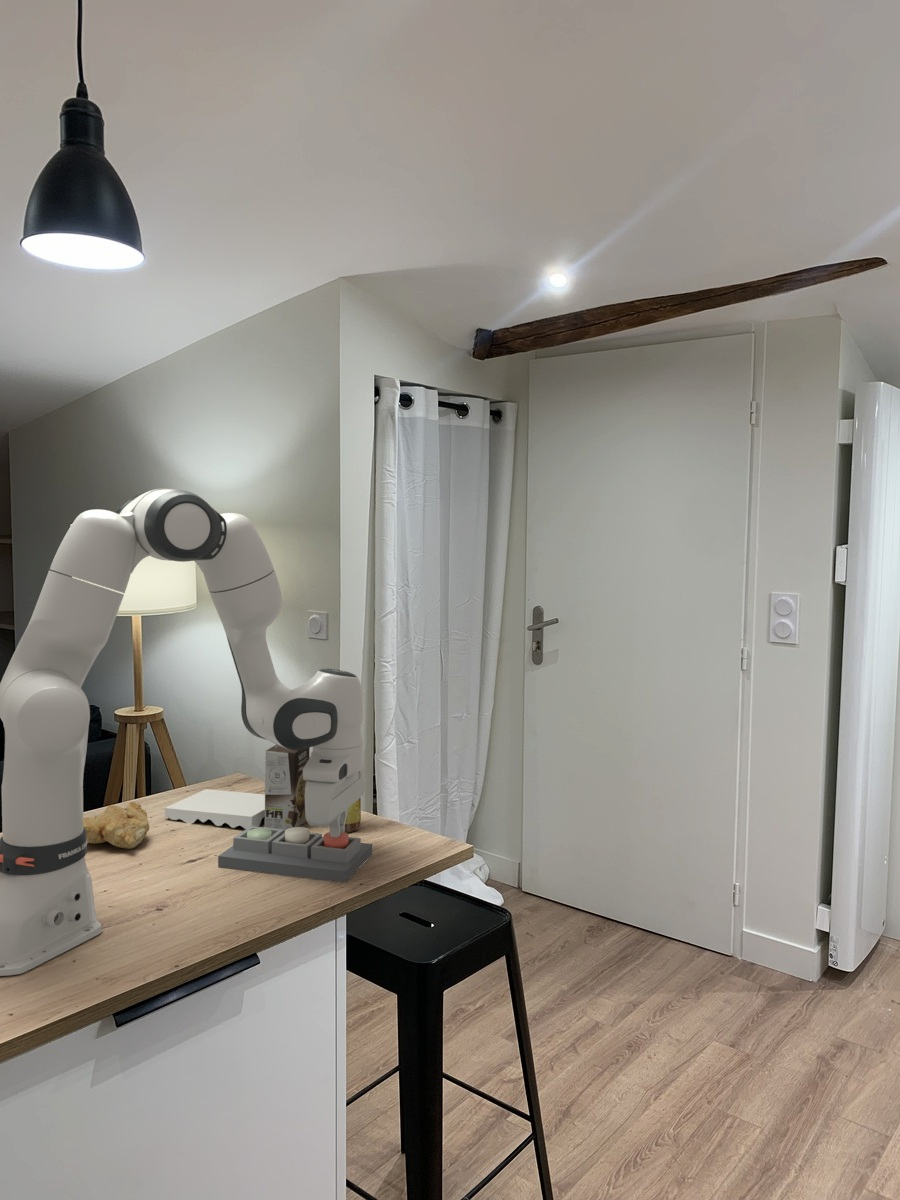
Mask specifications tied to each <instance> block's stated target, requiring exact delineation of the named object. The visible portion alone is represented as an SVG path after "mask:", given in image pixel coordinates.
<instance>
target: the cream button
mask: <svg viewBox="0 0 900 1200" xmlns="http://www.w3.org/2000/svg"><path fill="white" fill-rule="evenodd" d="M284 833H285V842H288V843H297V844H306V843H307V842H308V841H310V833H311V831H310V829H309V828H307V827H304V826H303V827H302V826H299V827H293V828H289V829H287V830H285V831H284Z"/></svg>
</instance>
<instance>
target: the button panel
mask: <svg viewBox="0 0 900 1200" xmlns="http://www.w3.org/2000/svg"><path fill="white" fill-rule="evenodd" d="M264 827H265V826H264ZM264 827H262V826H258V827H255V826H250V827H248V828H247V829H244V830H243V831H241V832H240V833H238V834H237V835H235V836H234V837H233V845H232V846H230V847H229V848H227V849H226V850H225V851H223V852H221V854H219V855H218V856H217V867H218V868H222V867H224V869H225V868H226V869H231V868H234V869H233V870H239V869H241V870H240V871H247V870H250V871H249V872H255V871H256V873H263V872H264V874H272V875H279V876H289V877H296V878H297V877H298V878H303V879H310V880H312V879H313V880H319V881H320V880H321V881H329V882H336V883H342V884H346V883H347V882H348V881H349V880H350V879H351V878H352V877H353V876H354V875H355V873H357V871H358V870H359V869H360V868H361V867H362V866H363V865H364V864H365V863H366V862H367V861H368V860H369V859H370V858H369V857H370V856H371V855H372V856H373V843H366V842H361V840H362V839H361V837H351V836H349V842H348V846H347V847H346V848H345V849H340V848H332V847H324V835H323V833H317V832H316V833H315V832H310V841H308V842H307V843H306V844H297V843H288V842H285V831H284V830H282V829H273V828H265V829H269V830H271V837H269V838H268V839H267V840H262V839H253V838H247V832H248V831H249V830H252V829H256V828H264ZM372 856H371V857H372ZM368 858H369V859H368ZM367 859H368V860H367ZM366 860H367V861H366ZM365 861H366V862H365ZM364 862H365V863H364ZM363 863H364V864H363ZM362 864H363V865H362ZM361 865H362V866H361ZM360 866H361V867H360ZM359 867H360V868H359ZM357 869H358V870H357ZM353 874H354V875H353ZM352 875H353V876H352ZM351 876H352V877H351ZM350 877H351V878H350ZM349 878H350V879H349ZM345 882H346V883H345Z"/></svg>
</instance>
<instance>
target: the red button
mask: <svg viewBox="0 0 900 1200" xmlns="http://www.w3.org/2000/svg"><path fill="white" fill-rule="evenodd" d="M323 836H324V847H332V848H340V849H345V848H346V847H347V846H348V842H349V837H350V836H349V834H348V832H347V833H345V832H344V833H342V834H341V835H340V836H339V837H338V838H333V837H330V831H329V832H326V833H325V834H323Z"/></svg>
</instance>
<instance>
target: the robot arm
mask: <svg viewBox="0 0 900 1200" xmlns="http://www.w3.org/2000/svg"><path fill="white" fill-rule="evenodd" d="M148 557H152V558H154V559H157V560H161V561H170V562H171V561H173V562H183V563H184V562H192V561H193V562H195V564H196V565H197V566H198V568H199V569H200V572H201V573H203V577H204V579H205V583H206V587H207V589H208V591H209V595H210V597H211V600H212V603H213V606H214V607H215V609H216V612H217V615H218V617H219V620H220V622H221V624H222V626H223V630H224V632H225V635H226V638H227V643H228V646H229V649H230V653H231V657H232V659H233V664H234V666H235V669H236V673H237V677H238V679H239V683H240V688H241V706H240V708H241V709H240V710H241V711H240V715H241V719H242V722H243V725H244V727H245V729H246V730H247V731H248V732H249V733H250V734H251V735H252V736H254V737H257V738H260V739H263V740H266V741H269V742H270V743H273V744H275V745H276V744H277V745H279V746H281V747H283V748H286V749H289V750H302V749H306V748H312V751H311V752H310V755H309V760H308V762H307V764H306V765H305V767H304V768H303V779H304V780H308V781H307V783H306V786H305V814H306V822H307V824H308V825H309V826H312V827H320V828H327V827H329V832H330V837H333V838H338V837H339V836H340V835H341V834H342V833H344V831H345V822H346V818H347V814H348V808H349V807H350V806H351V805H352V804H354V803H355V802H356V801H357V800H358V799H359V798H361V799H362V797H363V796H364V794H365V792H366V791H365V789H366V777H365V776H366V773H365V764H364V760H363V759H364V757H363V751H364V750H363V747H364V746H363V744H364V743H363V737H362V730H361V729H362V725H363V719H364V701H363V699H364V698H363V691H362V690H363V689H362V685H361V681H360V678H359V677H358V676H357V675H356V674H354V673H351V672H350V671H346V670H340V669H335V668H321V669H318V670H317V671H316V673H315V674H314V675H313V676H312V677H310V679H309V680H307V681H306V682H305V683H303V684H301V685H299V686H297V687H296V688H293V689H290V688H289V687H287V686H286V685H285V684H284V683H283V682H281V680H280V679H279V678H278V676H277V673H276V670H275V668H274V664H273V660H272V657H271V653H270V650H269V649H270V648H269V645H268V643H267V636H266V635H267V634H266V633H267V629H268V627H269V626H270V625H272V624H273V623H274V622H275V620H276V619H277V618H278V616H279V615H280V612H281V610H282V606H283V599H282V592H281V591H282V590H281V586H280V583H279V580H278V577H277V574H276V570H275V567H274V565H273V563H272V559H271V557H270V554H269V553H268V550H267V548H266V546H265V544H264V542H263V539H262V538H261V536H260V535H259V532H258V531H257V529H256V527H255V525H254V524H253V522H252V521H251V519H249V518H248V517H247V516H245V515H244V514H240V513H237V512H224V513H219V512H218V511H217V510H215V509H214V508H213V507H212V506H211V504H209V502H207V501H206V500H205V499H204V498H203V497H200V496H199V495H197V494H195V493H193V492H191V491H188V490H181V489H180V490H179V489H175V488H172V487H171V488H170V487H165V488H164V487H163V488H155V489H148V490H144V491H141V492H139V493H138V494H136V495H134V496H132V497H131V498H130V499H129V500H127V502H125V503H124V504H123V505H122V506H120V507H119V508H118V509H117V510H115V511H112V510H107V509H100V508H99V509H96V508H95V509H88V510H85V511H83V512H81V513H79V515H77V516H76V518H75V519H74V521H73V522H72V524H71V525H70V526H69V529H68V530H67V532H66V533H65V535H64V537H63V539H62V541H61V542H60V545H59V546H58V548H57V551H56V553H55V555H54V558H53V560H52V562H51V564H50V567H49V569H48V572H47V575H46V577H45V581H44V583H43V586H42V589H41V591H40V594H39V596H38V599H37V601H36V603H35V606H34V610H33V612H32V615H31V617H30V620H29V622H28V625H27V627H26V628H25V631H24V632H23V634H22V636H21V637H20V640H19V642H18V644H17V646H16V648H15V651H14V652H13V654H12V657H11V658H10V661H9V663H8V665H7V667H6V670H4V671H5V672H4V674H3V675H2V679H1V681H0V719H1V721H2V723H3V728H4V758H3V772H2V783H1V817H2V818H1V819H2V820H1V821H2V822H1V824H2V825H1V827H2V831H1V833H2V836H0V977H2V976H14V975H21V974H25V973H26V972H28V971H30V970H31V969H35V968H36V967H37V966H40V965H42V964H44V963H45V962H47V961H49V960H51V959H53V958H55V957H57V956H59V955H61V954H63V953H65V952H68V951H69V950H71V949H73V948H75V947H77V946H79V945H80V944H83V943H84V942H87V941H89V940H90V939H92V938H95V937H97V936H98V935H100V934H101V933H102V932H103V927H102V923H101V922H100V921H99V920H98V919H97V913H96V905H95V904H96V903H95V896H94V887H93V878H92V875H91V874H90V871H89V869H88V866H87V864H86V857H85V856H86V855H87V853H88V844H89V843H88V840H87V835H86V829H85V828H84V827H83V819H84V773H85V765H86V759H87V758H86V756H87V752H88V751H87V750H88V749H87V748H88V739H89V726H90V720H91V709H90V704H89V700H88V697H87V696H86V693H85V691H83V689H82V686H83V685H84V682H85V679H86V677H87V676H88V674H89V672H90V670H91V668H92V666H93V664H94V663H95V661H96V659H97V657H98V656H99V654H100V652H101V651H102V650H103V648H105V646H106V644H107V643H108V640H109V638H110V635H111V631H112V628H113V626H114V623H115V621H116V618H117V616H118V612H119V610H120V606H121V604H122V602H123V599H124V596H125V594H126V590H127V587H128V584H129V581H130V578H131V574H133V572H134V570H135V569H136V567H137V565H139V563H141V561H143V560H144V559H145V558H148Z"/></svg>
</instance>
